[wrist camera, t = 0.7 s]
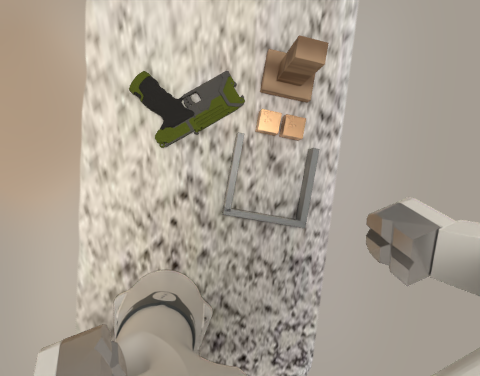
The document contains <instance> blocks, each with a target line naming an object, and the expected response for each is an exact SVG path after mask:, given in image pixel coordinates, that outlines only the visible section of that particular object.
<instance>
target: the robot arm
mask: <svg viewBox="0 0 480 376" xmlns="http://www.w3.org/2000/svg"><path fill="white" fill-rule="evenodd" d="M366 224H367V226H368V227H369V228H370V230H369V231H368V233H367V235H366V245H367V247H368V250H369V252H370V253H371V255H372V256H373V257H374V258H375V259H376V260H377V261H378V262H379V263H382V264H385V265H389V269H390V272H391V273H392V274H393V275H394V276H395V277H397V278H398V279H399V280H400V281H401V282H403V283H404V284H405V285H406V286H409V285H411V284H413V283H416V282H418V281H420V280H422V279H424V278H427V277H429V276H430V277H431V278H433V279H436V280H439V281H441V282H444V283H446V284H449V285H452V286H454V287H457V288H459V289H462V290H465V291H467V292H470V293H473V294H476V295H478V296H480V223H477V222H471V221H465V220H459V221H455V220H453V219H451V218H450V217H447V216H446V215H444V214H442V213H440V212H439V211H437V210H435V209H433V208H431V207H430V206H428V205H426V204H424V203H422V202H420V201H419V200H417V199H415V198H411V197H408V198H405V199H403V200H401V201H398V202H396V203H395V204H392V205H389V206H387V207H384V208H382V209H380V210H377V211H375V212H373V213H371V214H369V215H368V217H367V223H366ZM119 306H120V307H119ZM212 313H213V310H212V308H211V306H210V305H209V304H208V303H207V302H206V301H204V300H203V298H202V297H201V294H200V292H199V290H198V288H197V286H196V285H195V284H194V282H193V281H192V280H191V279H189V278H188V277H187V276H185V275H184V274H182V273H179V272H176V271H172V270H160V271H155V272H152V273H150V274H148V275H146V276H144V277H143V278H141V279H140V280H139V281H138V282H137V283H136V284H135V285H134V286H133V287H132V288H131V289H129V290H128V291H125V292H123V293H121V294H119V295H118V296H117V297H116V298H115V300H114V338H115V342H114V341H111V331H110V330H109V328H108V327H107V325H106V324H102V325H100V326H97V327H94V328H92V329H89V330H87V331H84V332H81V333H79V334H76V335H74V336H71V337H69V338H66V339H64V340H62V341H60V342H57V343H55V344H52V345H49V346H46V347H44V348H42V349H41V350H40V352H39V354H38V356H37V361H36V365H35V370H34V375H33V376H248V375H246V374H245V373H244V372H243V371H242V370H241V369H239V368H238V367H232V366H226V365H221V364H217V363H214V362H211V361H208V360H206V359H204V358H202V357H200V356H199V348H200V345H201V343H202V340H203V338H204V335H205V332H206V330H207V327H208V325H209V322H210V320H211V317H212ZM204 317H206V319H204ZM432 376H480V348H478V349H476V350H475V351H473V352H471V353H470V354H468V355H466V356H464V357H463V358H461V359H459V360H458V361H456V362H454V363H452V364H451V365H449V366H447V367H446V368H444V369H442V370H440V371H439V372H437V373H435V374H434V375H432Z"/></svg>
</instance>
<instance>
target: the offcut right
mask: <svg viewBox="0 0 480 376" xmlns="http://www.w3.org/2000/svg"><path fill="white" fill-rule="evenodd" d="M305 122H306V118H301V117H297V116H292V115H288V114H286V115H285V116H284V117H283V119H282V124H281V129H280V135H279V137H284V138H288V139H293V140H300V139H302V138H303V133H304V127H305Z"/></svg>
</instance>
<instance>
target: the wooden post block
mask: <svg viewBox="0 0 480 376" xmlns="http://www.w3.org/2000/svg"><path fill="white" fill-rule="evenodd" d="M327 49H328V43H327V42H323V41H319V40H315V39H311V38H307V37H303V36H298V38H297V39H296V41H295V42H294V43H293V45H292V46H291V48H290V49H289V51H288V52H287V53H284V52H280V51H275V50H271V49H269V50H268V52H267V56H266V62H265V67H264V73H263V79H262V84H261V90H260V92H262V93H267V94H271V95H275V96H280V97H284V98H289V99H293V100H298V101H302V102H306V103H307V102H309V101H310V100H311V95H312V89H313V83H314V78H315V73H316V72H317V71H318V70H319V69H320V68H321V67H322V66H323V65H324V64H325V60H326V54H327Z"/></svg>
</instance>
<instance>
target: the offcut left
mask: <svg viewBox="0 0 480 376" xmlns="http://www.w3.org/2000/svg"><path fill="white" fill-rule="evenodd" d="M281 115H282V113H278V112H274V111H269V110H265V109H261V110H260V112H259V115H258V120H257V126H256V131H255V132H260V133H264V134H269V135H274V136H275V135H276V134H278V131H279V126H280V121H281Z"/></svg>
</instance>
